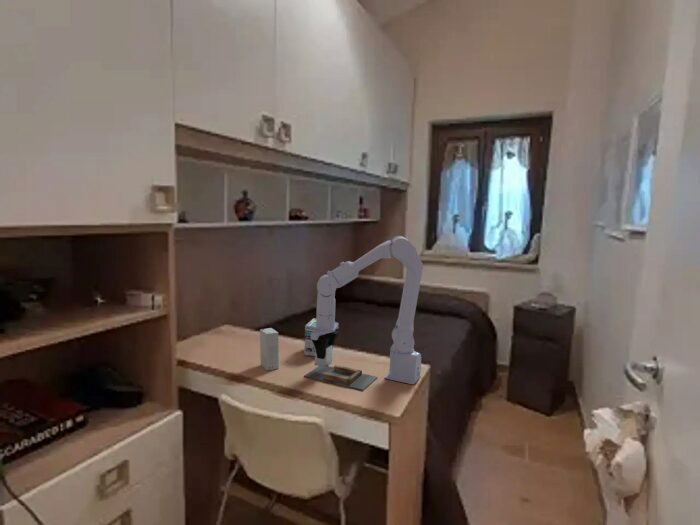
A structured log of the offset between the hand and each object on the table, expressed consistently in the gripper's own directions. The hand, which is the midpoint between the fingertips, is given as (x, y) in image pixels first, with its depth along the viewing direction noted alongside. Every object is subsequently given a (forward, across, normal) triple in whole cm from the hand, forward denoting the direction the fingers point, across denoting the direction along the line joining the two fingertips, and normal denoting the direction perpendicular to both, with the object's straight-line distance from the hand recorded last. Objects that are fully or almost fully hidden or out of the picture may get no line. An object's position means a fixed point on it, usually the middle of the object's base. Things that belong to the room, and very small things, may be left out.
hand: (324, 356), depth 142 cm
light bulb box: (+6, -17, -12) cm, 22 cm away
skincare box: (+6, +4, -18) cm, 19 cm away
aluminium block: (+3, 0, 0) cm, 3 cm away
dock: (+6, 0, +6) cm, 8 cm away
